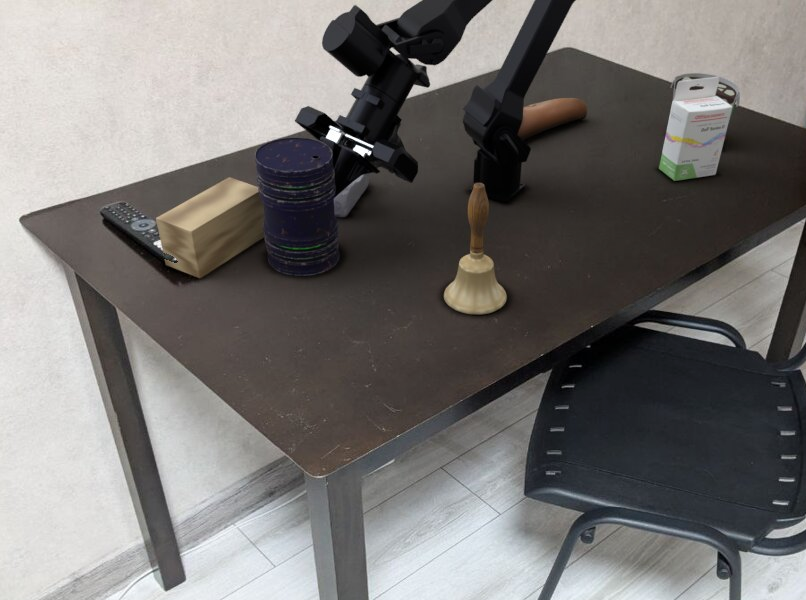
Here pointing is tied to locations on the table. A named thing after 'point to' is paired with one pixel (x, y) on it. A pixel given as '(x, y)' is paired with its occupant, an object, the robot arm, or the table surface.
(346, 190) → the stone block
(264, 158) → the blue barrel
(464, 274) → the hand bell
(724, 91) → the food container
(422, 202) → the table surface
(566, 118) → the sunglasses case
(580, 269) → the table surface
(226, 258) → the birch block
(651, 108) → the table surface
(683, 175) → the ink box
